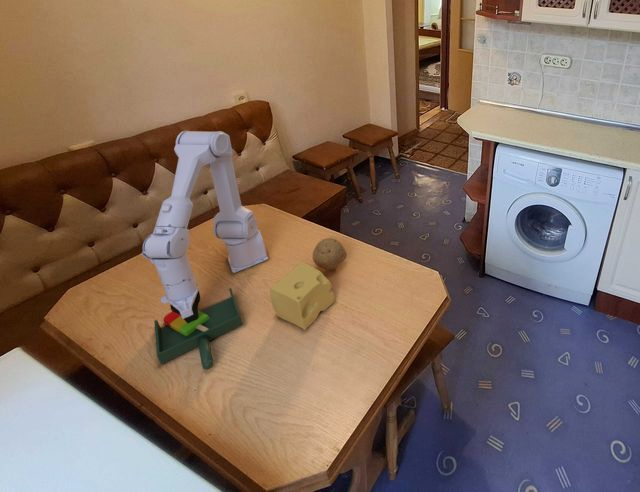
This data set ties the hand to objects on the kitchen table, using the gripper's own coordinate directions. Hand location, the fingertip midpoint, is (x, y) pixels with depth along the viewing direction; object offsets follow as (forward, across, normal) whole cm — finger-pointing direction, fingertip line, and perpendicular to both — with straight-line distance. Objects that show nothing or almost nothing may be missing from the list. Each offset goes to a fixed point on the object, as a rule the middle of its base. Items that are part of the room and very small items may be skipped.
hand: (192, 320), depth 88 cm
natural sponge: (+1, +1, +34) cm, 34 cm away
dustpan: (+2, +6, +1) cm, 7 cm away
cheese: (+2, +12, +23) cm, 26 cm away
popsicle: (+2, 0, 0) cm, 2 cm away
